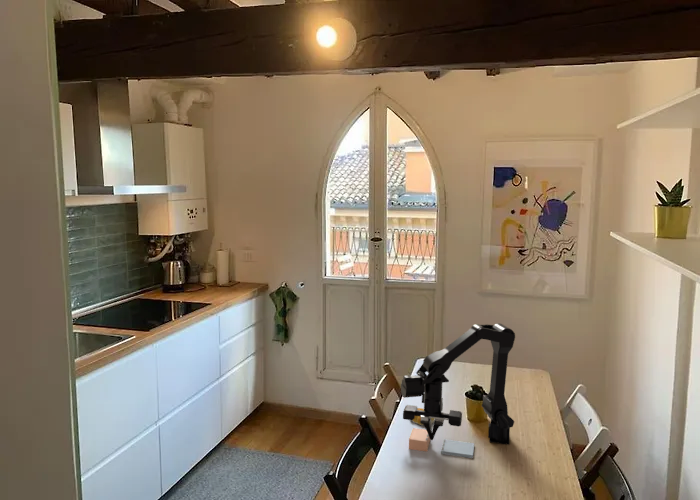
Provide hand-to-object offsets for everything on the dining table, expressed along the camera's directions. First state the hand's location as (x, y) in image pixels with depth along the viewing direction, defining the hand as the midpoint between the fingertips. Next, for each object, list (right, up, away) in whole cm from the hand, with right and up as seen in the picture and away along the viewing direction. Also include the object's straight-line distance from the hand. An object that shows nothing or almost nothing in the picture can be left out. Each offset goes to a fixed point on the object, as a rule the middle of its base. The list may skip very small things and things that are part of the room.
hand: (431, 439), depth 179 cm
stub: (-4, -2, +2) cm, 5 cm away
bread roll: (-1, 0, +19) cm, 19 cm away
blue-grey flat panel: (+8, -3, -2) cm, 9 cm away
